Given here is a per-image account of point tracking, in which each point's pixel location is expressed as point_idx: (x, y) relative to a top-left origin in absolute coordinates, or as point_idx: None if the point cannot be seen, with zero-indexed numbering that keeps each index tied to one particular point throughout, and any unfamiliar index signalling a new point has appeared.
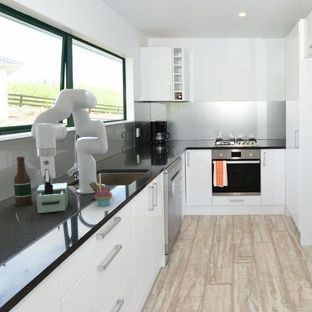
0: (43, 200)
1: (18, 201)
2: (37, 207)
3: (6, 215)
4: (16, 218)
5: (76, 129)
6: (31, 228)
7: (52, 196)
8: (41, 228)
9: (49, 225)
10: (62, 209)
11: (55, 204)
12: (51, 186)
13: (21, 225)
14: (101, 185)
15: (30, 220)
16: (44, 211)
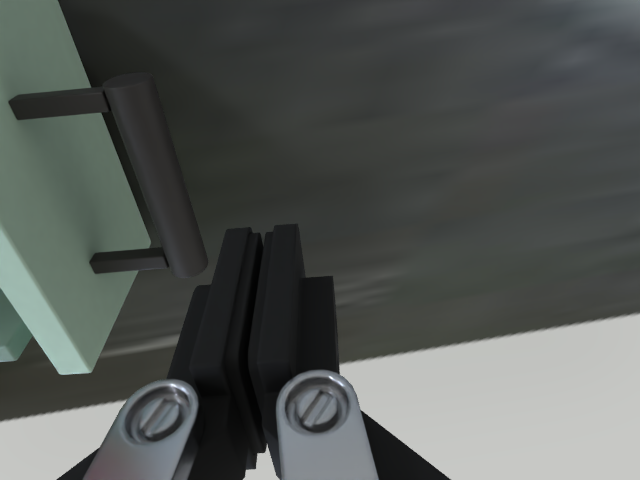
0: (88, 277)
1: None
2: (135, 276)
3: None
4: None
5: None
6: (567, 206)
7: (17, 213)
8: (622, 135)
9: (567, 82)
10: (58, 22)
11: (59, 126)
12: (290, 355)
13: (438, 279)
14: None
15: (318, 251)
16: (130, 200)
